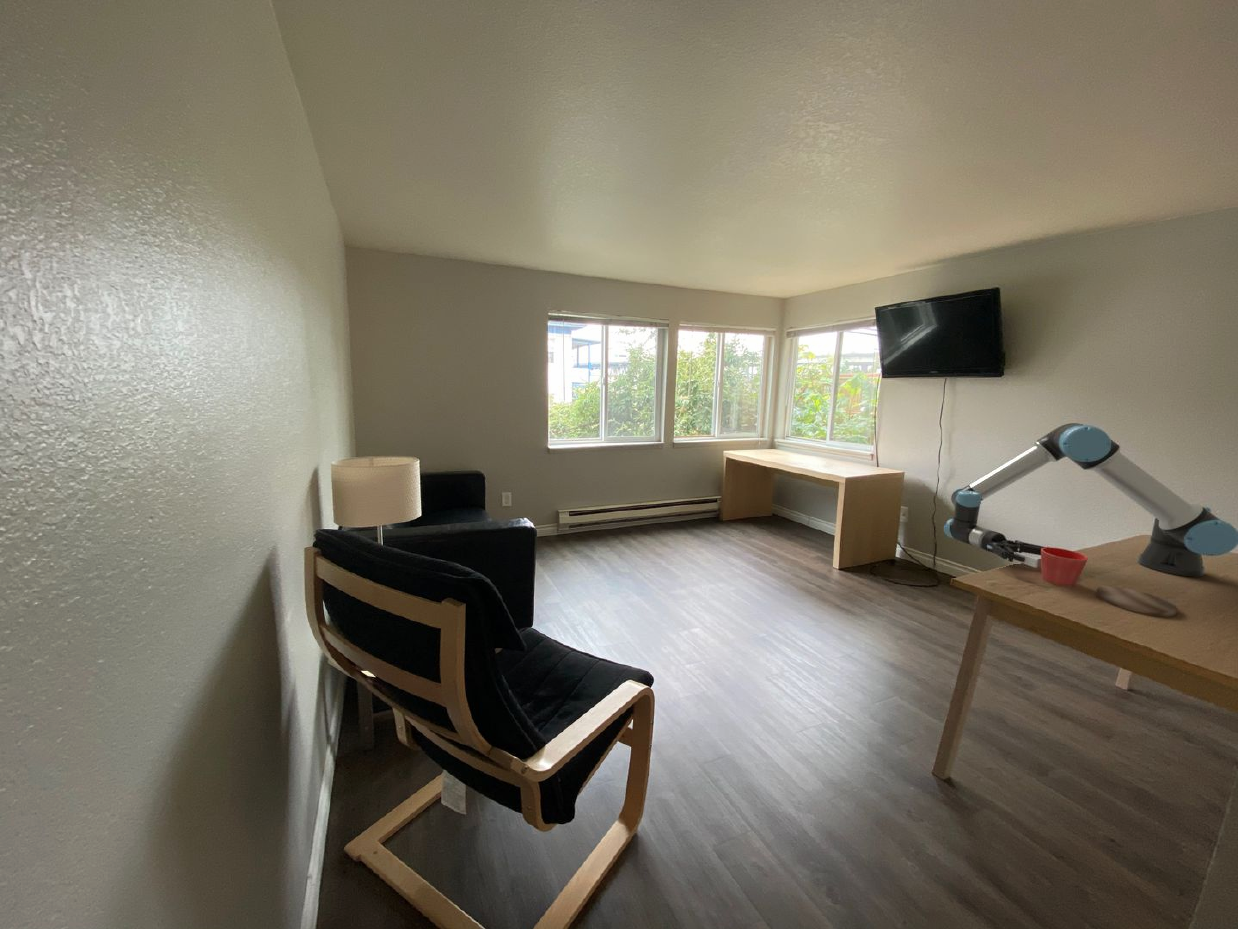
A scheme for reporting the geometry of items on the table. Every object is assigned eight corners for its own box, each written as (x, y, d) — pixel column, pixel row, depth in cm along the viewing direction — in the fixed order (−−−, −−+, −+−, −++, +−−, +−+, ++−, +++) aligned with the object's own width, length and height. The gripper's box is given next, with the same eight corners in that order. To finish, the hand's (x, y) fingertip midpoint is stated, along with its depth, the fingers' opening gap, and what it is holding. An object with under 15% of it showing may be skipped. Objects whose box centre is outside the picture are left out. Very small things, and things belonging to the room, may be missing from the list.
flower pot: (1084, 592, 145) (1090, 562, 144) (1037, 582, 152) (1042, 553, 150) (1079, 581, 154) (1085, 552, 152) (1034, 572, 160) (1039, 544, 158)
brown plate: (1139, 593, 146) (1140, 588, 145) (1194, 619, 130) (1195, 613, 130) (1081, 589, 148) (1082, 584, 147) (1128, 614, 132) (1129, 609, 132)
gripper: (1012, 547, 178) (1078, 569, 157) (959, 552, 172) (1021, 576, 151) (1015, 528, 176) (1083, 548, 156) (962, 532, 170) (1025, 553, 150)
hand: (1052, 562), depth 154 cm, fingers open, 13 cm apart
